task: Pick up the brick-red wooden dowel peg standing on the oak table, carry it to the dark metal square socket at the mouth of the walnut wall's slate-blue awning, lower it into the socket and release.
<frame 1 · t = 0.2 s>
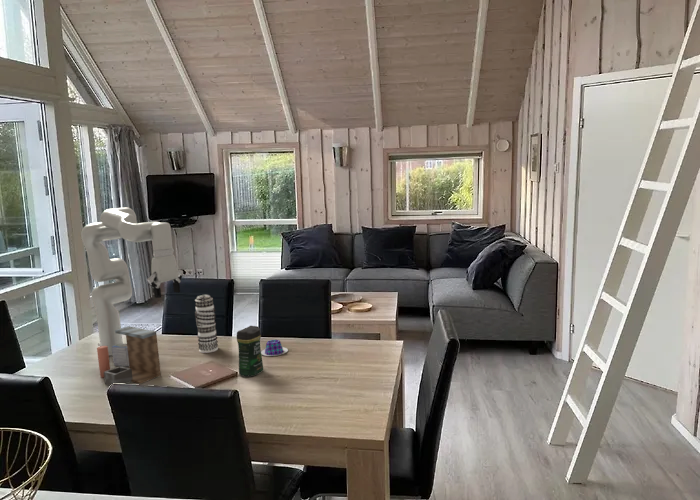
hand: (167, 294, 224), 31 cm above the table, fingers open, 9 cm apart
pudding: (274, 353, 241), on the table
medicine box: (124, 365, 235), on the table
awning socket: (132, 377, 219), on the table
coffee jar: (251, 373, 217), on the table
decorative candle: (208, 350, 249), on the table
peg: (105, 375, 223), on the table
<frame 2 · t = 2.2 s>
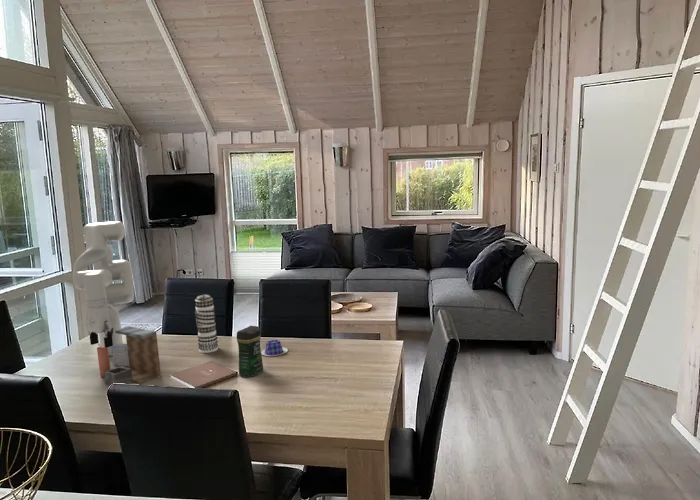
hand: (101, 345, 220), 13 cm above the table, fingers open, 9 cm apart
nothing on the table moved.
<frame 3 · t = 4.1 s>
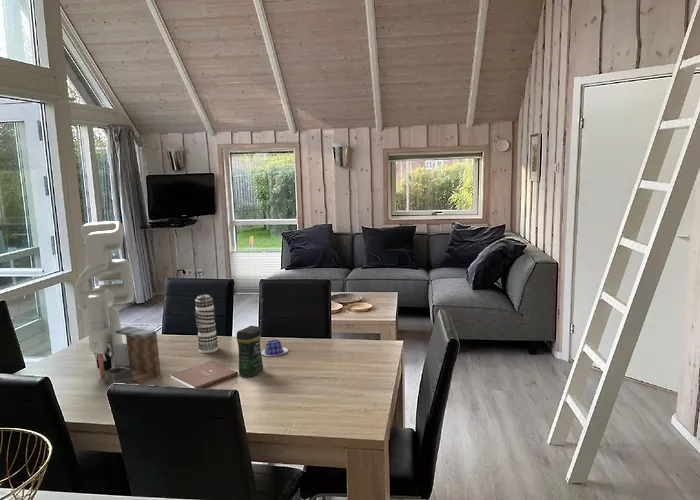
hand: (104, 368, 222), 3 cm above the table, fingers closed on peg, 4 cm apart
peg: (105, 375, 223), on the table, touching gripper
everything else where it was.
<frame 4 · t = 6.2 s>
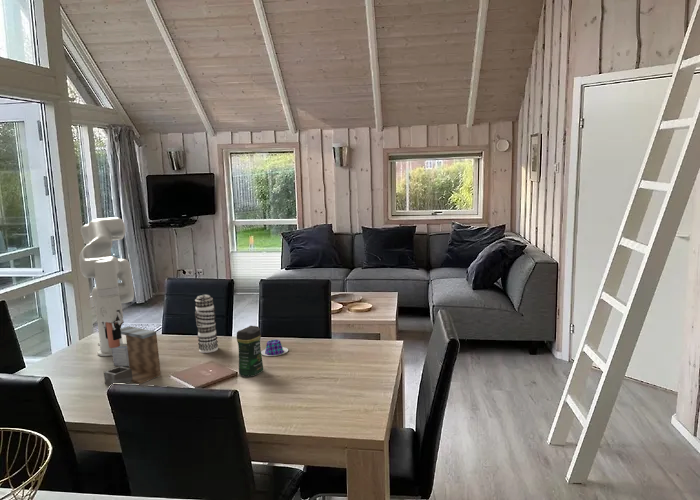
hand: (113, 338, 212), 18 cm above the table, fingers closed on peg, 4 cm apart
peg: (114, 346, 212), point 15 cm above the table, touching gripper
everything else where it was.
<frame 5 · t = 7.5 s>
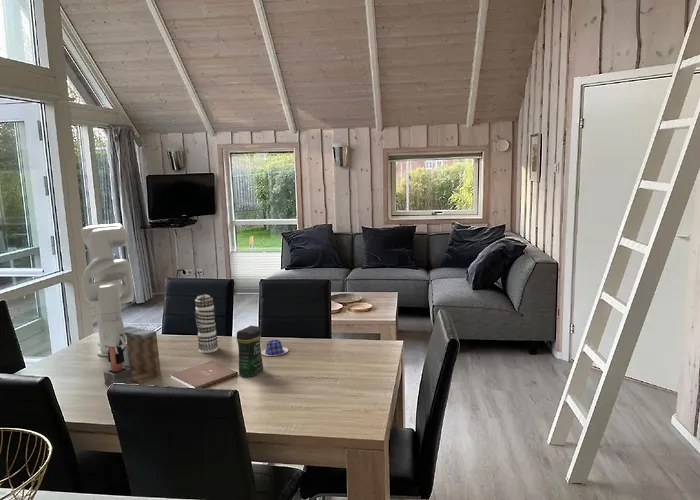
hand: (116, 361, 213), 9 cm above the table, fingers closed on peg, 4 cm apart
peg: (117, 369, 213), point 5 cm above the table, touching gripper
everything else where it was.
when the fingers open (6 cm above the table, at t = 8.6 s): peg drops 3 cm, resting in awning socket.
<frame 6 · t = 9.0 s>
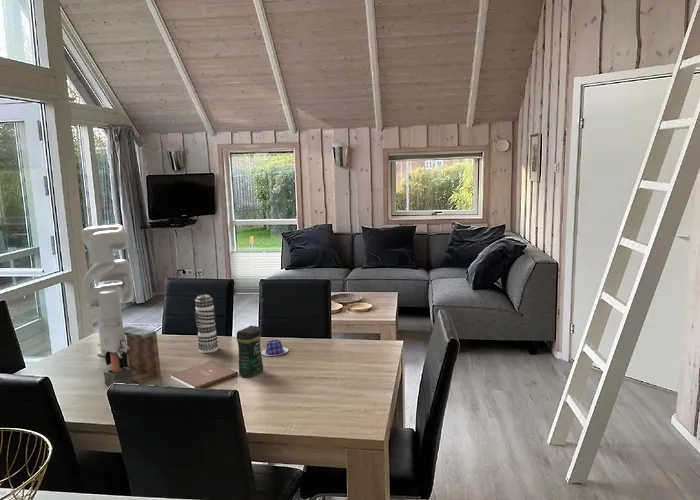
hand: (117, 365, 213), 7 cm above the table, fingers open, 8 cm apart
peg: (119, 382, 214), resting in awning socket
everything else where it was.
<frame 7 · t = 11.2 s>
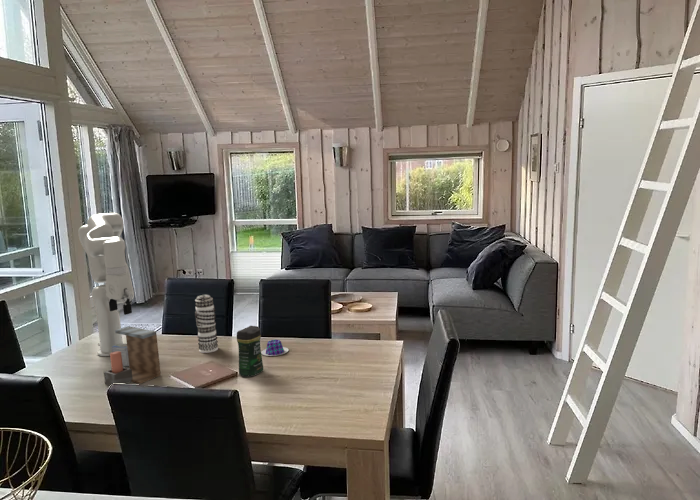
hand: (120, 312, 222), 25 cm above the table, fingers open, 9 cm apart
nothing on the table moved.
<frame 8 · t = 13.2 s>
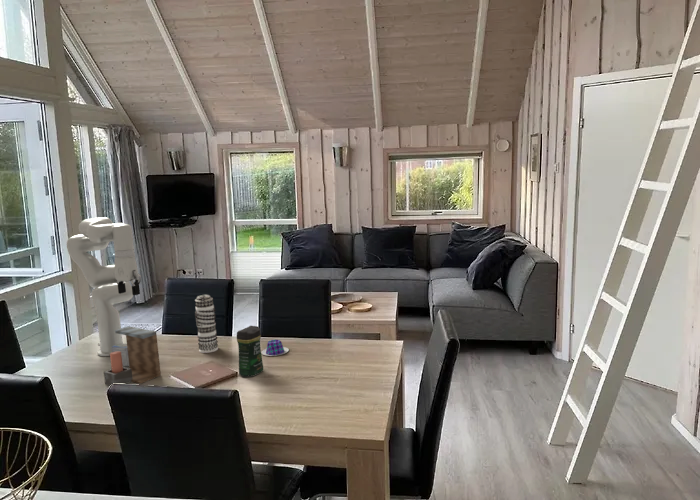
hand: (129, 293, 232), 30 cm above the table, fingers open, 9 cm apart
nothing on the table moved.
at the end: peg 0.0 cm from the target spot on the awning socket, point 0.0 cm above the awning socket's base; peg tilted 0°; the gripper is holding nothing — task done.
